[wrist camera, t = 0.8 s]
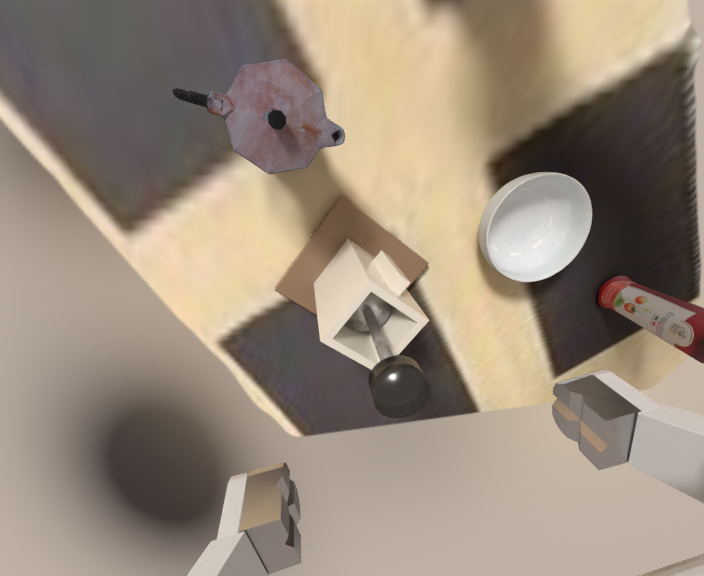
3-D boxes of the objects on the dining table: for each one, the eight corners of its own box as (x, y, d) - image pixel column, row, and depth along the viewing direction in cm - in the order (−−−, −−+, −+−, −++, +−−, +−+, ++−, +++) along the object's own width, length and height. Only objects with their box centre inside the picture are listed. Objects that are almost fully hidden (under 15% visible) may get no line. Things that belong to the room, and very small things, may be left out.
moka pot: (325, 170, 49) (342, 189, 31) (213, 152, 46) (158, 161, 27) (335, 96, 45) (360, 68, 27) (213, 71, 42) (151, 19, 24)
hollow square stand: (341, 195, 50) (363, 223, 34) (425, 260, 57) (479, 310, 40) (275, 286, 55) (265, 351, 38) (360, 337, 61) (384, 411, 44)
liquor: (598, 273, 63) (799, 362, 38) (632, 270, 64) (850, 356, 39) (587, 307, 66) (766, 411, 41) (619, 304, 67) (814, 405, 42)
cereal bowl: (578, 186, 56) (615, 192, 49) (530, 276, 61) (558, 292, 55) (492, 154, 51) (520, 156, 45) (450, 255, 57) (469, 269, 51)
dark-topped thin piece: (362, 276, 42) (398, 353, 27) (399, 301, 45) (452, 385, 29) (332, 314, 44) (351, 406, 29) (369, 336, 46) (405, 433, 31)
